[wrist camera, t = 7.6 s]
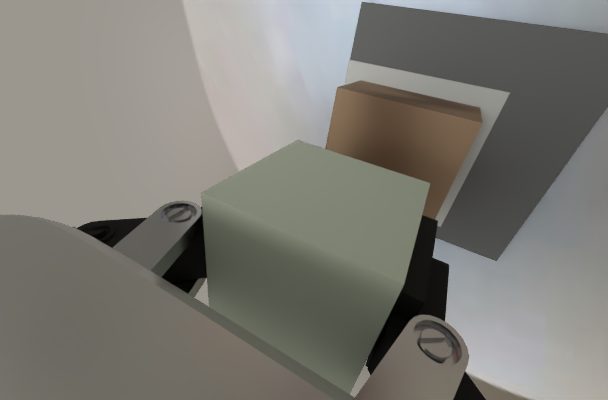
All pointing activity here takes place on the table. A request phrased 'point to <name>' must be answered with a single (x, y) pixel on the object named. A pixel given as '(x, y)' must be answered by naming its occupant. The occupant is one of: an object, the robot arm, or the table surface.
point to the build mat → (491, 105)
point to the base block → (404, 134)
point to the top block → (312, 253)
